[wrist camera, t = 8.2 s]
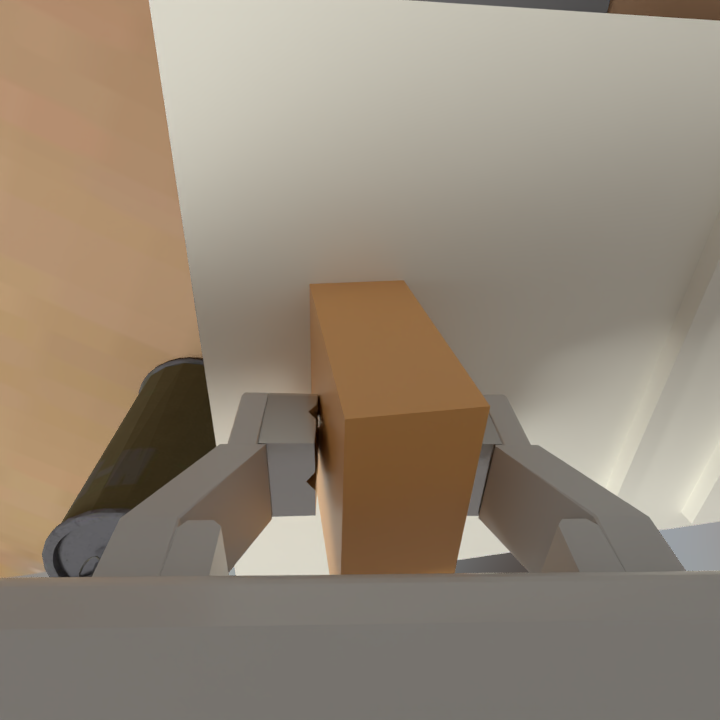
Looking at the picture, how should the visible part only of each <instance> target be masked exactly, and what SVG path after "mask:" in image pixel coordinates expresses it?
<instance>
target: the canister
mask: <svg viewBox="0 0 720 720" xmlns="http://www.w3.org/2000/svg"><path fill="white" fill-rule="evenodd" d="M215 447H216V441H215V434H214V428H213V421H212V415H211V408H210V401H209V395H208V388H207V382H206V375H205V368H204V362H203V360H200V359H192V358H186V359H176V360H173V361H169V362H166V363H164V364H162V365H160V366H157V367H156V368H155V369H154V370H152V371H151V372H150V373H149V374H148V375H147V376H146V378H145V379H144V381H143V383H142V384H141V387H140V390H139V395H138V397H137V398H136V400H135V402H134V403H133V405H132V407H131V408H130V410H129V412H128V413H127V415H126V417H125V418H124V420H123V422H122V423H121V425H120V426H119V428H118V430H117V431H116V433H115V435H114V436H113V438H112V440H111V441H110V443H109V445H108V446H107V448H106V450H105V451H104V453H103V455H102V456H101V458H100V460H99V461H98V463H97V465H96V466H95V468H94V470H93V471H92V473H91V475H90V476H89V478H88V480H87V481H86V483H85V485H84V486H83V488H82V490H81V491H80V493H79V495H78V496H77V498H76V500H75V501H74V503H73V505H72V506H71V508H70V509H69V511H68V513H67V514H66V516H65V518H64V519H63V521H62V523H61V524H59V525H58V526H57V527H56V528H55V529H54V530H53V531H52V532H51V533H50V535H49V536H48V538H47V539H46V541H45V545H44V549H43V552H42V557H43V562H44V567H45V570H46V572H47V573H48V575H49V577H92V575H93V573H94V571H95V569H96V567H97V565H98V563H99V561H100V559H101V557H102V555H103V553H104V550H105V548H106V546H107V544H108V542H109V540H110V538H111V536H112V534H113V532H114V530H115V528H116V526H117V524H118V522H119V520H120V518H121V517H123V516H124V515H125V514H127V513H128V512H129V511H131V510H132V509H133V508H135V507H136V506H137V505H139V504H140V503H141V502H143V501H144V500H145V499H147V498H148V497H149V496H151V495H152V494H153V493H155V492H156V491H157V490H159V489H160V488H162V487H163V486H164V485H166V484H167V483H168V482H170V481H171V480H172V479H174V478H175V477H176V476H178V475H179V474H180V473H182V472H183V471H184V470H186V469H187V468H188V467H190V466H191V465H192V464H194V463H195V462H197V461H198V460H199V459H201V458H202V457H203V456H205V455H206V454H207V453H209V452H210V451H211V450H213V449H214V448H215Z"/></svg>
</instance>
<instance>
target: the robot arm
mask: <svg viewBox="0 0 720 720" xmlns="http://www.w3.org/2000/svg"><path fill="white" fill-rule="evenodd" d="M483 396H484V398H485V399H486V401H487V402H488V404H489V405H490V410H489V415H488V419H487V424H486V429H485V433H484V438H483V443H482V447H481V452H480V456H479V461H478V466H477V470H476V475H475V480H474V484H473V489H472V494H471V498H470V503H469V508H468V512H467V516H479V517H478V518H479V519H480V520H481V521H482V522H483V523H484V525H485V526H486V527H487V528H488V529H489V530H490V531H491V532H492V533H493V534H494V535H495V536H496V537H497V538H498V539H499V541H500V542H501V543H502V544H503V545H504V546H505V547H506V548H507V549H508V550H509V551H510V552H511V553H512V554H513V555H514V556H515V558H516V559H517V560H518V561H519V562H520V563H521V564H522V565H523V566H524V567H525V568H526V569H527V570H528V571H529V572H530V573H435V574H340V575H242V576H229V572H230V570H231V569H232V568H233V567H234V565H235V564H236V563H237V562H238V560H239V559H240V558H241V557H242V556H243V554H244V553H245V552H246V551H247V549H248V548H249V547H250V546H251V544H252V543H253V542H254V541H255V540H256V538H257V537H258V536H259V535H260V533H261V532H262V531H263V530H264V528H265V527H266V526H267V525H268V524H269V522H270V521H271V520H272V517H283V516H315V515H316V500H317V474H318V458H319V429H318V415H319V410H318V394H298V393H256V392H245V393H244V394H243V395H242V396H241V399H240V403H239V406H238V410H237V413H236V416H235V420H234V423H233V427H232V430H231V433H230V437H229V440H228V444H219V445H218V446H217V447H215V448H214V449H213V450H211V451H210V452H209V453H207V454H206V455H205V456H203V457H202V458H201V459H199V460H198V461H197V462H195V463H194V464H192V465H191V466H190V467H188V468H187V469H186V470H184V471H183V472H182V473H180V474H179V475H178V476H176V477H175V478H174V479H172V480H171V481H170V482H168V483H167V484H166V485H164V486H163V487H162V488H160V489H159V490H157V491H156V492H155V493H153V494H152V495H151V496H149V497H148V498H147V499H145V500H144V501H143V502H141V503H140V504H139V505H137V506H136V507H135V508H133V509H132V510H131V511H129V512H128V513H127V514H125V515H124V516H123V517H121V518H120V520H119V522H118V524H117V526H116V528H115V530H114V532H113V534H112V536H111V538H110V540H109V542H108V544H107V546H106V548H105V550H104V553H103V555H102V557H101V559H100V561H99V563H98V565H97V567H96V569H95V571H94V573H93V575H92V577H49V578H47V577H45V578H44V577H41V578H40V577H39V578H0V720H720V571H686V570H685V569H684V567H683V566H682V564H681V563H680V562H679V560H678V559H677V557H676V556H675V554H674V553H673V551H672V550H671V548H670V547H669V545H668V544H667V542H666V541H665V539H664V538H663V537H662V535H661V534H660V532H659V530H658V529H657V527H656V526H655V525H654V523H653V522H652V520H651V519H650V517H649V516H647V515H646V514H644V513H642V512H641V511H639V510H638V509H636V508H635V507H633V506H632V505H630V504H629V503H627V502H625V501H624V500H622V499H621V498H619V497H618V496H616V495H615V494H613V493H612V492H610V491H608V490H607V489H605V488H604V487H602V486H601V485H599V484H598V483H596V482H595V481H593V480H592V479H590V478H588V477H587V476H585V475H584V474H582V473H581V472H579V471H578V470H576V469H575V468H573V467H571V466H570V465H568V464H567V463H565V462H564V461H562V460H561V459H559V458H558V457H556V456H554V455H553V454H551V453H550V452H548V451H547V450H545V449H544V448H542V447H541V446H539V445H531V444H530V442H529V440H528V438H527V436H526V434H525V432H524V430H523V428H522V426H521V424H520V422H519V420H518V418H517V416H516V414H515V412H514V410H513V408H512V406H511V405H510V403H509V401H508V399H507V397H506V396H505V395H503V394H493V395H483Z"/></svg>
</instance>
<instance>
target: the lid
mask: <svg viewBox="0 0 720 720" xmlns="http://www.w3.org/2000/svg"><path fill="white" fill-rule="evenodd" d="M149 4H150V11H151V18H152V24H153V31H154V37H155V44H156V51H157V57H158V64H159V71H160V77H161V84H162V90H163V97H164V104H165V110H166V117H167V123H168V130H169V137H170V143H171V150H172V157H173V163H174V170H175V176H176V183H177V190H178V196H179V203H180V209H181V216H182V223H183V229H184V236H185V243H186V249H187V256H188V262H189V269H190V276H191V282H192V289H193V295H194V302H195V309H196V315H197V322H198V329H199V335H200V342H201V348H202V355H203V362H204V368H205V375H206V382H207V388H208V395H209V401H210V408H211V415H212V421H213V428H214V434H215V441H216V447H217V446H218V445H219V444H228V440H229V437H230V433H231V430H232V427H233V423H234V420H235V416H236V413H237V410H238V406H239V403H240V399H241V396H242V395H243V394H244V393H245V392H256V393H298V394H318V410H319V415H318V429H319V458H318V474H317V500H316V515H315V516H283V517H272V520H271V521H270V522H269V524H268V525H267V526H266V527H265V528H264V530H263V531H262V532H261V533H260V535H259V536H258V537H257V538H256V540H255V541H254V542H253V543H252V544H251V546H250V547H249V548H248V549H247V551H246V552H245V553H244V554H243V556H242V557H241V558H240V559H239V560H238V562H237V563H236V564H235V565H234V567H235V573H236V576H242V575H340V574H435V573H455V568H456V563H457V560H461V559H468V558H474V557H482V556H488V555H494V554H502V553H508V552H510V551H509V550H508V549H507V548H506V547H505V546H504V545H503V544H502V543H501V542H500V541H499V539H498V538H497V537H496V536H495V535H494V534H493V533H492V532H491V531H490V530H489V529H488V528H487V527H486V526H485V525H484V523H483V522H482V521H481V520H480V519H479V518H478V517H479V516H467V512H468V508H469V503H470V498H471V494H472V489H473V484H474V480H475V475H476V470H477V466H478V461H479V456H480V452H481V447H482V443H483V438H484V433H485V429H486V424H487V419H488V415H489V410H490V405H489V404H488V402H487V401H486V399H485V398H484V396H483V395H493V394H503V395H505V396H506V397H507V399H508V401H509V403H510V405H511V406H512V408H513V410H514V412H515V414H516V416H517V418H518V420H519V422H520V424H521V426H522V428H523V430H524V432H525V434H526V436H527V438H528V440H529V442H530V444H531V445H539V446H541V447H542V448H544V449H545V450H547V451H548V452H550V453H551V454H553V455H554V456H556V457H558V458H559V459H561V460H562V461H564V462H565V463H567V464H568V465H570V466H571V467H573V468H575V469H576V470H578V471H579V472H581V473H582V474H584V475H585V476H587V477H588V478H590V479H592V480H593V481H595V482H596V483H598V484H599V485H601V486H602V487H604V488H605V489H607V490H608V491H610V492H612V493H613V494H615V495H616V496H618V497H619V498H621V499H622V500H624V501H625V502H627V503H629V504H630V505H632V506H633V507H635V508H636V509H638V510H639V511H641V512H642V513H644V514H646V515H647V516H649V517H650V519H651V520H652V522H653V523H654V525H655V526H656V527H657V529H658V530H665V529H672V528H678V527H685V526H692V525H698V524H705V523H712V522H719V521H720V21H716V20H701V19H685V18H670V17H655V16H640V15H625V14H610V13H594V12H579V11H564V10H549V9H534V8H519V7H503V6H488V5H473V4H458V3H443V2H428V1H412V0H149Z"/></svg>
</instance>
